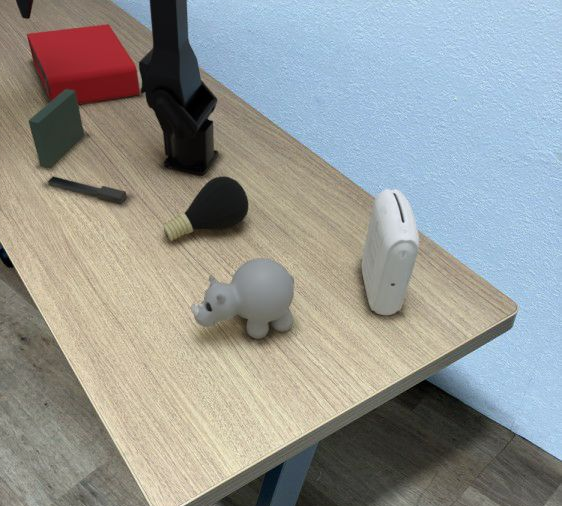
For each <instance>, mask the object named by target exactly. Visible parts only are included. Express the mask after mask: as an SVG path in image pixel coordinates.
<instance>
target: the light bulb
mask: <svg viewBox="0 0 562 506" xmlns="http://www.w3.org/2000/svg"><path fill="white" fill-rule="evenodd" d="M248 212H249V199H248V196H247V192H246V191H245V189H244V188H243V186H242V185H241V184H240V183H239V182H238V181H237V180H236V179H234V178H233V177H229V176H217V177H214V178H211V179H210V180H208V182H206V183H205V184H204V186H202V188H201V189H200V190H199V192H197V194H196V196H195V197H194V199H193V200H192V202H191V203H190V204H189V206H188V207H187V209H186V210H185V212H181V213H179V214H178V215H177V216H174V218H171V219H170V220H167V222H164V225H162V228H163V232H164V234H165V236H166V237H167V238H168V239H169V240H170V241H171V242H173V241H174V240H177V238H179V239H181V237H184V235H186V236H187V235H188V234H191V233H193V232H194V231H195V230H204V231H205V230H206V231H209V230H211V231H213V230H214V231H215V230H216V231H218V230H226V229H227V230H228V229H231V228H234V227H237V226H238V225H239V224H240V223H241V222H243V220H245V219H246V217H247V215H248Z"/></svg>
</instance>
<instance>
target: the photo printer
mask: <svg viewBox="0 0 562 506" xmlns="http://www.w3.org/2000/svg"><path fill="white" fill-rule="evenodd" d="M362 251H363V252H362V256H361V273H362V278H363V283H364V289H365V295H366V298H367V302H368V306H369V308H370V310H371V311H372V312H374V313H375V314H378V315H382V316H391V315H394V314H396V313H397V312H400V311H401V309H402V307H403V304H404V302H405V301H404V300H405V297H406V295H407V291H408V288H409V284H410V282H411V278H412V275H413V271H414V269H415V266H416V262H417V258H418V255H419V251H420V237H419V229H418V224H417V221H416V217H415V214H414V211H413V208H412V206H411V203H410V201H409V200H408V198H407V196H406V195H405V194H404V193H403V192H401V191H400V190H399V189H396V188H394V189H390V188H385V189H383V190H381V191H380V192H379V193H378V194H377V195H376V197H375V198H374V200H373V204H372V209H371V215H370V219H369V223H368V228H367V233H366V237H365V242H364V246H363V250H362Z"/></svg>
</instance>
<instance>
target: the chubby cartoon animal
mask: <svg viewBox="0 0 562 506" xmlns="http://www.w3.org/2000/svg"><path fill="white" fill-rule="evenodd" d="M208 281H209V286H208V287H207V289H206V290H205V291H204V296H203V300H202V301H201V302H200V303H199V304H198V305H197V306H196V304H195V302H194V301H193V302H191V305H190V311H191V314H193V319H194V320H195V322H196V324H198V325H199V326H200V327H202V328H210V327H213V326H215V325H216V324H217V323H219V322H223V321H229V320H231V319H233V318H234V317H235V316H236V315H237V316H239V317H240V318H241V319H244V320H247V321H246V329H245V330H246V333H247V335H248V336H249V337H250V338H253V339H260V340H261V339H263V338H265V337H266V336H267V335H268V333H269V330H270V326H269V323H270V325H271V327H272V329H273V330H274V331H276V332H283V333H284V332H288V331H289V330H290V329H291V328H292V327H293V325H294V316H293V314H292V311H291V309H290V307H291V305H292V302H293V299H294V296H295V295H294V294H295V278H294V277H293V276H292V274H290V272H289V271H288V270H287V269H286V267H284V265H282V264H281V263H279V262H278V261H276V260H274V259H271V258H266V257H258V258H253V259H250V260H248V261H246V262H244V263H242V264H241V265H240V266H239V267H237V269H236V271H234V274H233V276H232V278H231V281H230V283H226V282H218V281H217V280H216V278H215V277H213V276H212V275H209V276H208Z"/></svg>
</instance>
